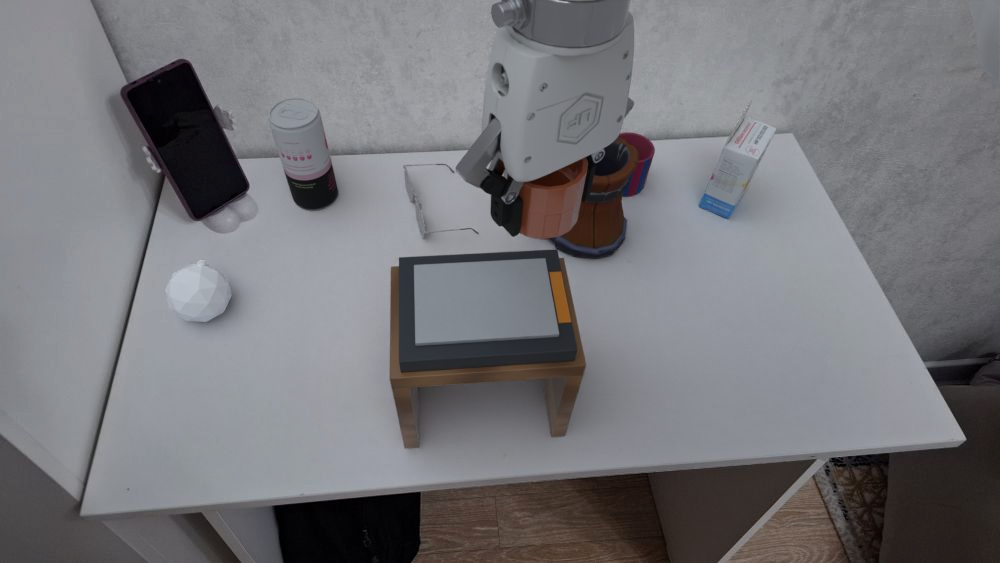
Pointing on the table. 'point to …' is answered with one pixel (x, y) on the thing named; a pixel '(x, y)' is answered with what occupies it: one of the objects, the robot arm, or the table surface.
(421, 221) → the eyeglasses
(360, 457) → the table surface
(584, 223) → the mug
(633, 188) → the cup
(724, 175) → the ink box
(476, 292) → the scale
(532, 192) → the flower pot
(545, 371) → the stand
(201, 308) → the ornament
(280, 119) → the beverage can
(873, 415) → the table surface
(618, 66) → the robot arm
